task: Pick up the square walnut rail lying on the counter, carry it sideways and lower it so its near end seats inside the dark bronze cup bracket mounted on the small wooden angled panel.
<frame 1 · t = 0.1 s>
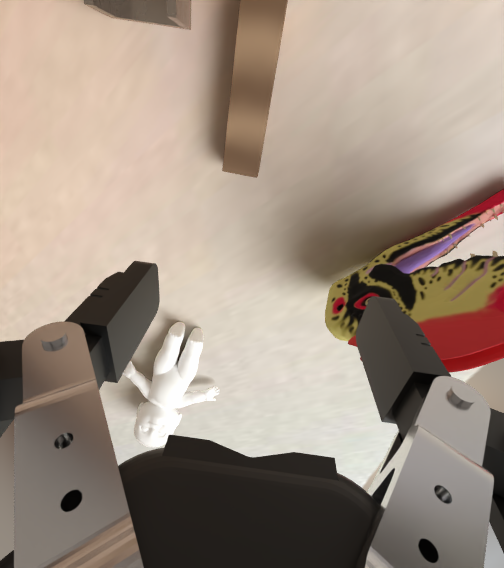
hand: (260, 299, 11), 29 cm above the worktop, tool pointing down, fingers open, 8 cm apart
rail: (253, 91, 32), on the worktop
doll: (173, 374, 59), on the worktop
toy: (405, 245, 40), on the worktop
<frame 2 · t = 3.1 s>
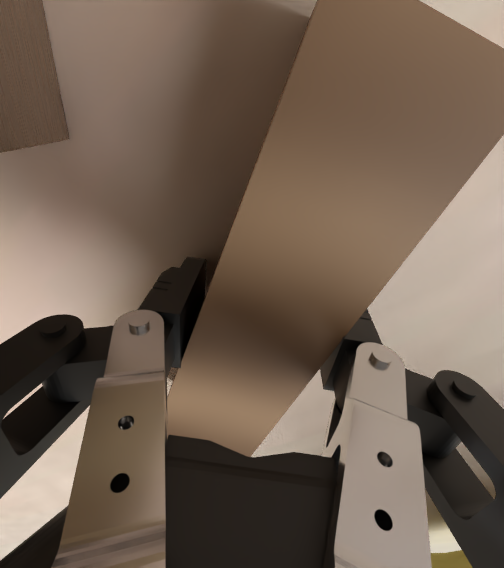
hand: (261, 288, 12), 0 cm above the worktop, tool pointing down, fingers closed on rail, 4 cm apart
rail: (263, 280, 12), on the worktop, touching gripper
when the fingers open (2 cm above the worktop, at t = 7.5 s): rail stays where it is, resting on cup bracket.
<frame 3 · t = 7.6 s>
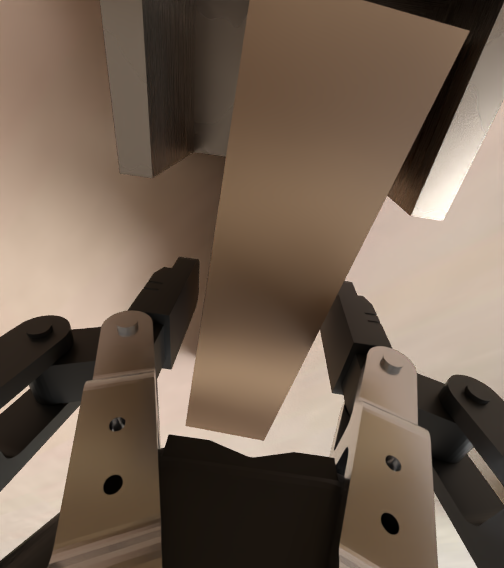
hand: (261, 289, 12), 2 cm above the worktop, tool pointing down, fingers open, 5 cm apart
rail: (266, 259, 13), point 1 cm above the worktop, touching cup bracket
cup bracket: (299, 42, 9), on the worktop
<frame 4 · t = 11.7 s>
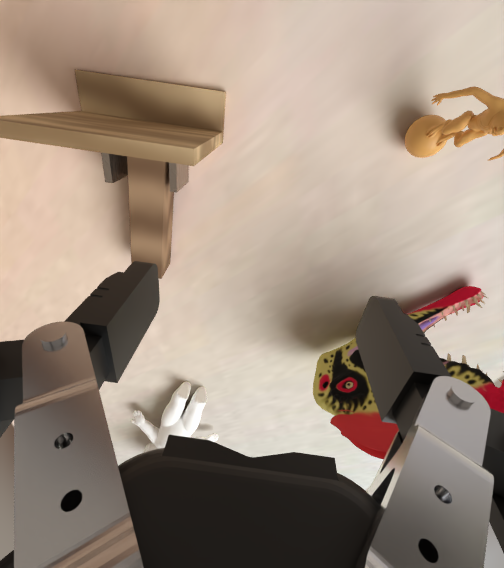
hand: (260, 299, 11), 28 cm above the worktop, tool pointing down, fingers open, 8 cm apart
rail: (157, 209, 38), point 1 cm above the worktop, touching cup bracket
doll: (177, 420, 66), on the worktop
toy: (383, 324, 47), on the worktop
cup bracket: (155, 145, 35), on the worktop
wooden angled panel: (154, 127, 34), on the worktop
figurine: (425, 126, 32), on the worktop
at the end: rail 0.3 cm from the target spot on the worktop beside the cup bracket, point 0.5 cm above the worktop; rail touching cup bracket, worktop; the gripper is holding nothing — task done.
